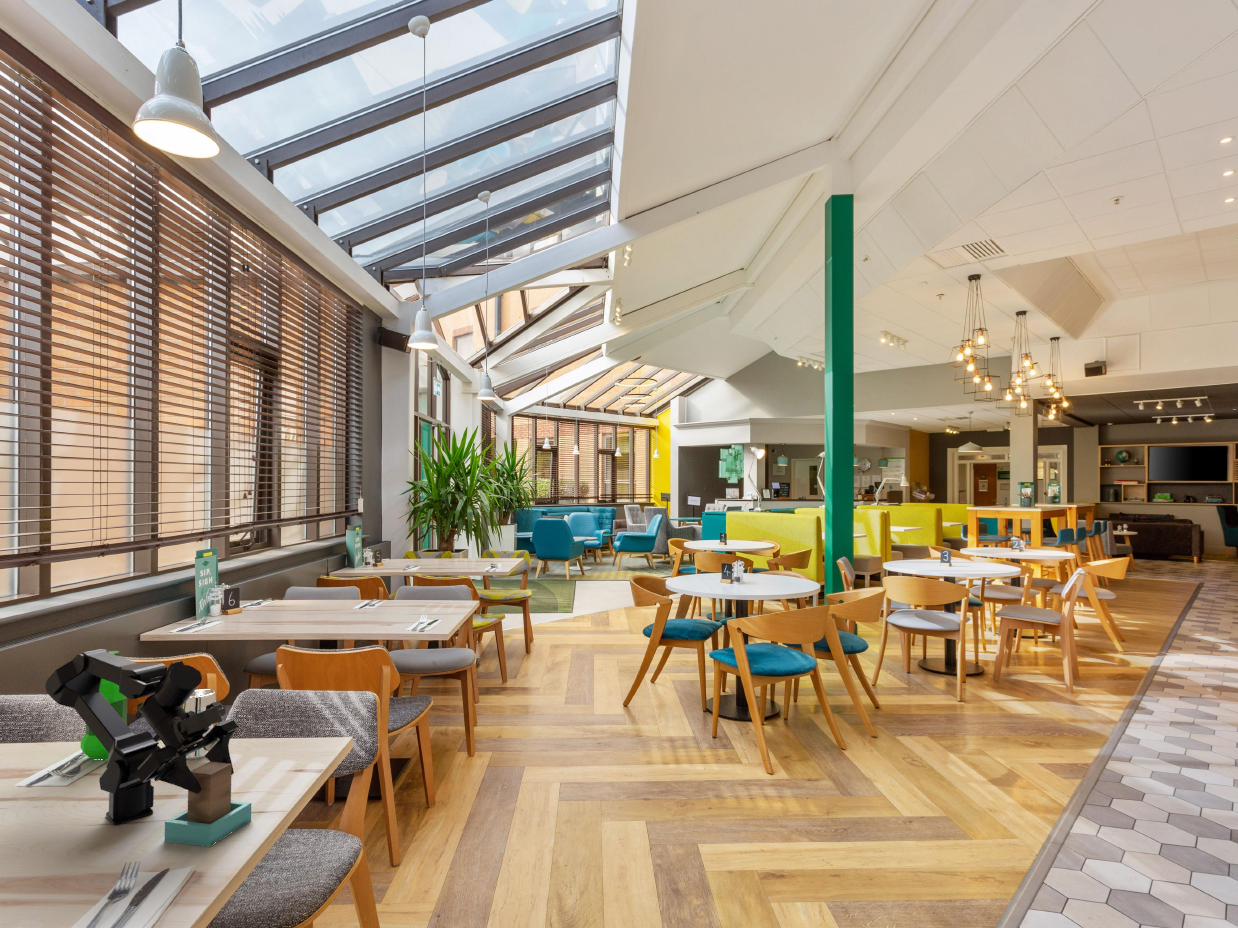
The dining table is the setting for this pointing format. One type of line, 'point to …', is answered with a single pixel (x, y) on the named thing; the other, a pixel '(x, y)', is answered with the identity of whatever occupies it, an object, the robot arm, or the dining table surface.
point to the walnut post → (210, 793)
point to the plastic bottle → (119, 703)
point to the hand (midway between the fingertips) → (216, 782)
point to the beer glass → (198, 704)
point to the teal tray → (207, 826)
